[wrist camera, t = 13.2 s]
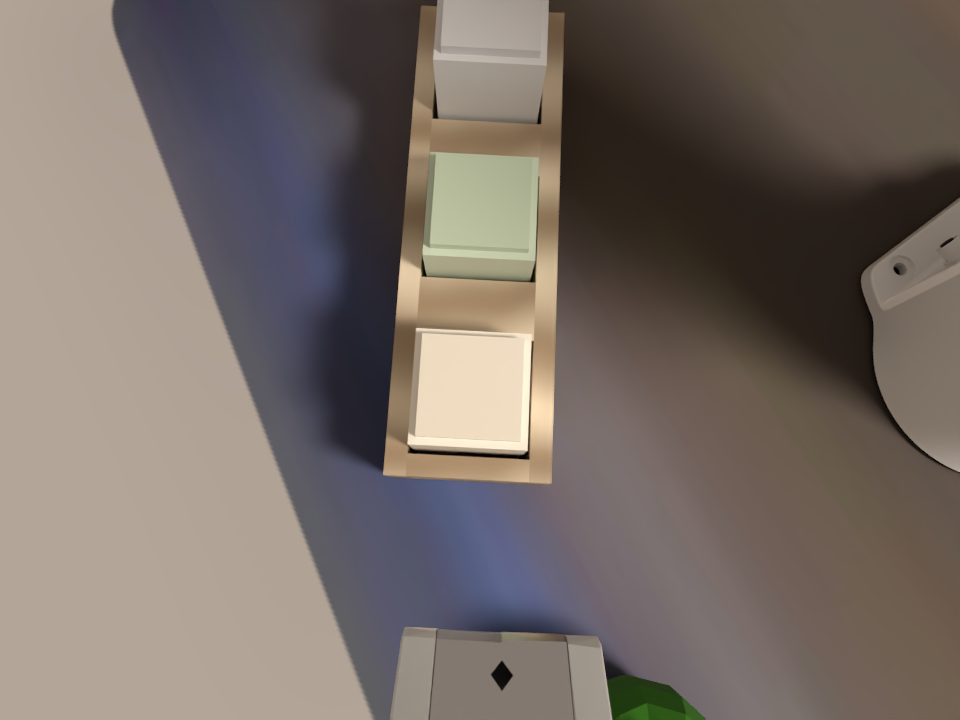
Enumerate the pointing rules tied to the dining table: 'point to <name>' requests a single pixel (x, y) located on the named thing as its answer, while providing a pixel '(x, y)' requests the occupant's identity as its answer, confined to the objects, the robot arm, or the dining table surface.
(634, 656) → the dining table surface
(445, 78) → the grey key
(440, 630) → the robot arm
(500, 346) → the cream key
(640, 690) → the bell pepper
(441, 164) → the sage key
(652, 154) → the dining table surface
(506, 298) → the keypad housing
